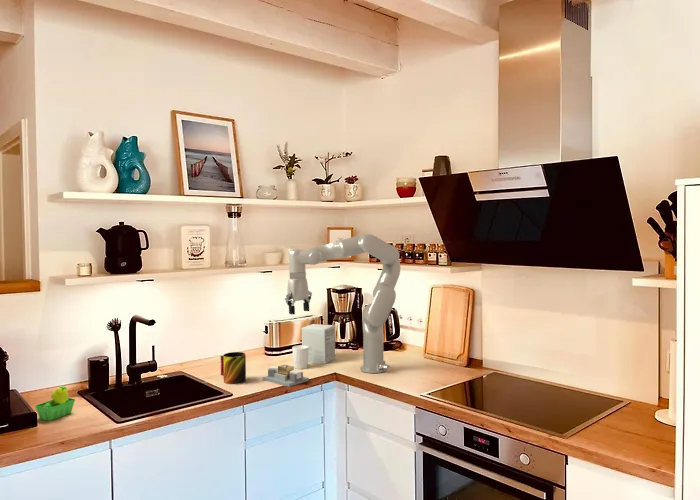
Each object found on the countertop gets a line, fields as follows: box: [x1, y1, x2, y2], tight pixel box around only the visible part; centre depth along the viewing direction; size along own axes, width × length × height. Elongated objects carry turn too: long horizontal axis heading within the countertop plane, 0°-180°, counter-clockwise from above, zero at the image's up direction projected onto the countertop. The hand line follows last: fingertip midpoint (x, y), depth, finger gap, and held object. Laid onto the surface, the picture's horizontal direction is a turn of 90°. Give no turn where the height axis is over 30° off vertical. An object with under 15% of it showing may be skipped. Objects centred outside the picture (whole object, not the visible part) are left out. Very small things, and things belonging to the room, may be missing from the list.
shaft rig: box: [262, 365, 310, 388], centre depth 238 cm, size 18×12×5 cm
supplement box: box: [301, 323, 336, 365], centre depth 274 cm, size 13×13×18 cm
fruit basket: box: [34, 385, 76, 422], centre depth 193 cm, size 11×9×11 cm
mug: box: [220, 351, 247, 385], centre depth 237 cm, size 10×14×12 cm
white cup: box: [291, 344, 309, 370], centre depth 260 cm, size 8×8×10 cm
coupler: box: [277, 364, 295, 380], centre depth 237 cm, size 6×4×5 cm, turn 50°
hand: (299, 312), depth 248 cm, fingers open, 9 cm apart
